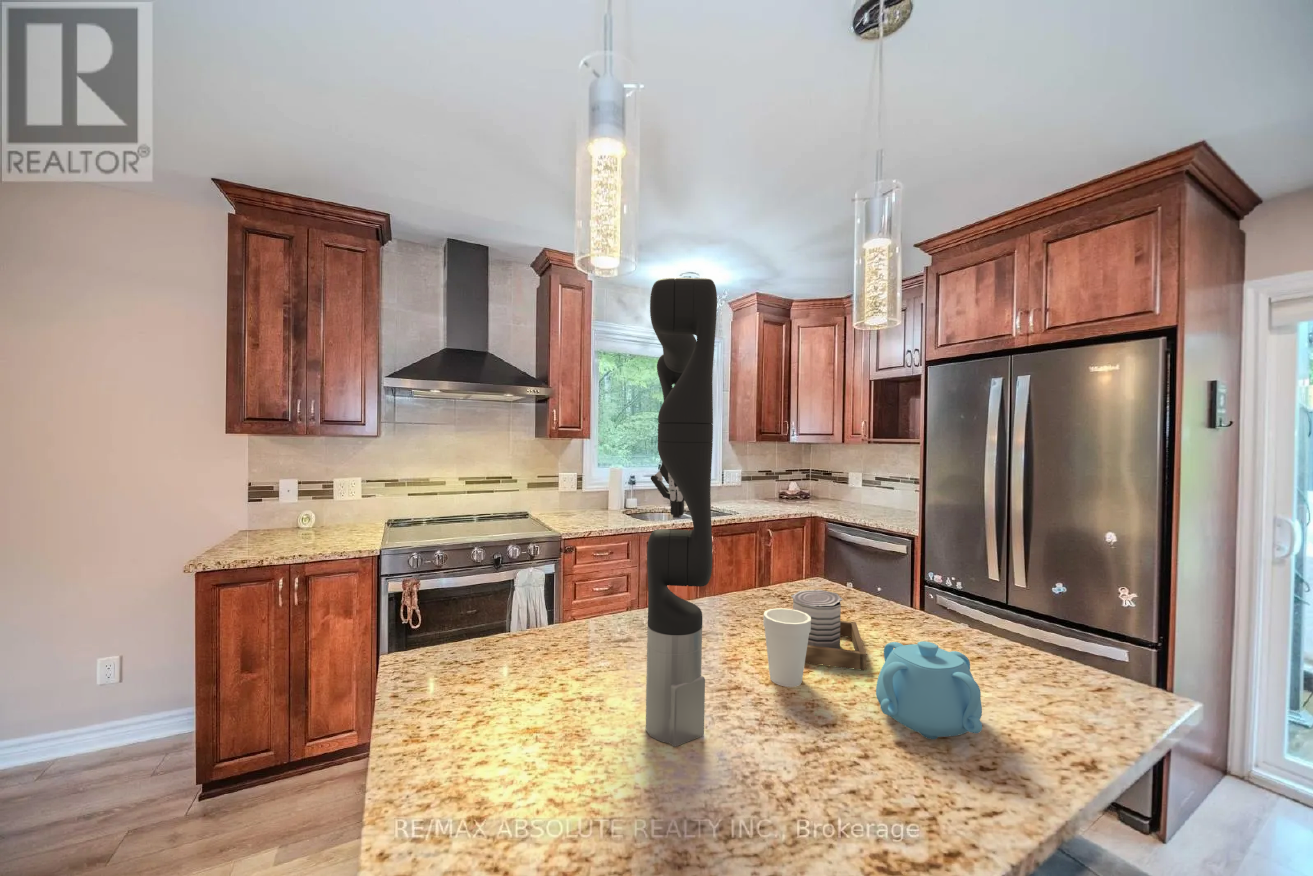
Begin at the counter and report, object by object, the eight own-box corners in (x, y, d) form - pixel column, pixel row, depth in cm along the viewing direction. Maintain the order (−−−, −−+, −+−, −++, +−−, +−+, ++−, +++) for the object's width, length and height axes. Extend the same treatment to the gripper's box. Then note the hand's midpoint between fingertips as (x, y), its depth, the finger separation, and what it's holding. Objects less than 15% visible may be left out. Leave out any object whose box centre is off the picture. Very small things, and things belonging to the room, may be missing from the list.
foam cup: (805, 670, 108) (806, 609, 108) (814, 692, 99) (815, 625, 99) (759, 668, 109) (761, 607, 109) (764, 688, 100) (766, 622, 100)
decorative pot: (882, 690, 100) (883, 621, 101) (979, 713, 92) (979, 638, 92) (870, 730, 86) (871, 649, 87) (982, 761, 78) (983, 672, 78)
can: (849, 655, 117) (849, 603, 117) (800, 655, 116) (801, 603, 116) (829, 636, 128) (830, 588, 128) (784, 636, 127) (785, 588, 127)
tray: (770, 658, 114) (771, 642, 114) (775, 626, 134) (775, 613, 134) (865, 670, 109) (866, 654, 109) (855, 636, 128) (856, 622, 128)
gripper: (646, 440, 114) (644, 518, 114) (704, 441, 110) (703, 521, 110) (655, 440, 121) (653, 513, 121) (710, 441, 118) (708, 516, 117)
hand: (677, 517), depth 116 cm, fingers closed
